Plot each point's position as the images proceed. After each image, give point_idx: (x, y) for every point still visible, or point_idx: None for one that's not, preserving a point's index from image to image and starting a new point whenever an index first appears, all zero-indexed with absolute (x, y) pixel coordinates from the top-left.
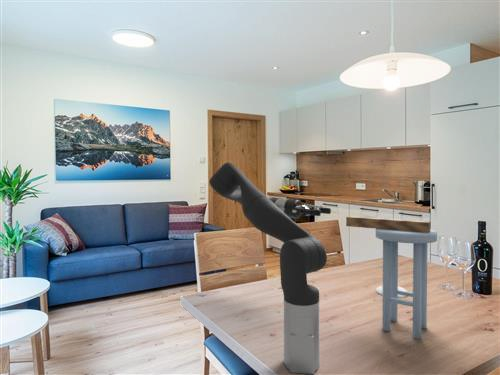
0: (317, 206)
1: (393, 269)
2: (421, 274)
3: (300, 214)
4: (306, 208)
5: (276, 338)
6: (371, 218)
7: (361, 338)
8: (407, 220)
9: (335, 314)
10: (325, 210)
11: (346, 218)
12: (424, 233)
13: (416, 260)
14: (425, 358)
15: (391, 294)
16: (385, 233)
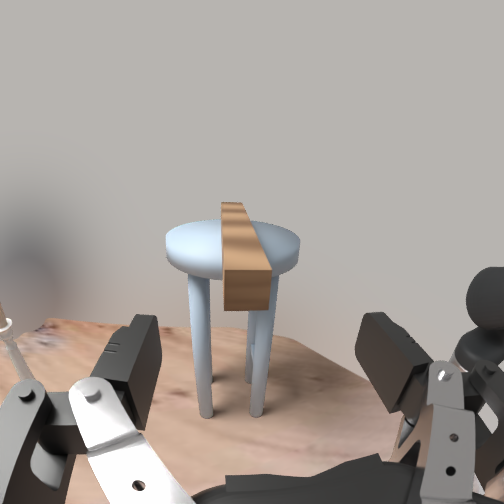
0: (26, 437)
1: (208, 340)
2: None
3: (488, 434)
4: (459, 397)
5: None
6: (249, 234)
7: (317, 424)
8: (232, 210)
9: None
10: (149, 364)
11: (271, 276)
12: (252, 224)
13: None
14: (300, 362)
15: (210, 383)
16: (298, 247)
